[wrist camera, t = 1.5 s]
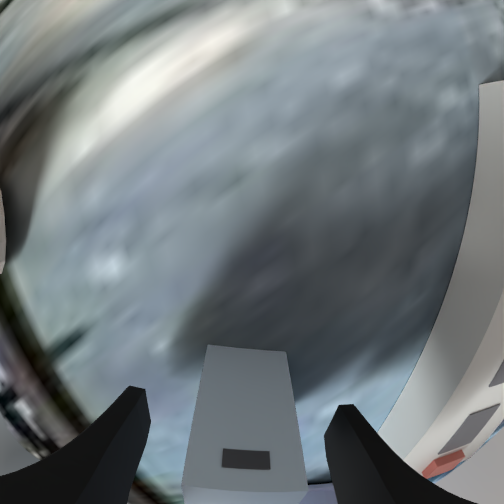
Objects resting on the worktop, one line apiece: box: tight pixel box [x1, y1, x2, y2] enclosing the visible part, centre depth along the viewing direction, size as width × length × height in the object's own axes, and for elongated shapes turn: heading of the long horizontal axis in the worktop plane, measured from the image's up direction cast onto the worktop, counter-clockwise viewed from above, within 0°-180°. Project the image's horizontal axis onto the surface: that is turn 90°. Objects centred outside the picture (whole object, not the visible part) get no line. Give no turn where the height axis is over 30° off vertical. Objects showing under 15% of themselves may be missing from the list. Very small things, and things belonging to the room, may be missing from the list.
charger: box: [181, 345, 309, 504], centre depth 8 cm, size 4×3×6 cm
